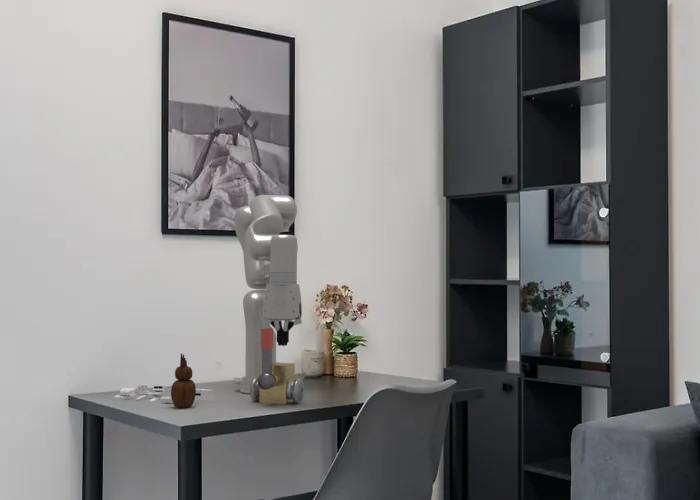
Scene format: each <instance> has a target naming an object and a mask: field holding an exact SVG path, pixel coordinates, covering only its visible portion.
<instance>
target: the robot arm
mask: <svg viewBox="0 0 700 500" xmlns="http://www.w3.org/2000/svg"><path fill="white" fill-rule="evenodd" d="M297 213H298V208H297V203H296V201H295V199H294V198H293V197H292V196H290V195H284V194H260V195H257V196H255V197H253V198H252V199H251V201H250V203H249V205H243V206H241V207H239V208H238V209H237V210H235V213H234V220H233V221H234V228H235V234H236V237H237V238H238V239H237V240H238V241H239V245H240V246H241V249H242V254H243V266H244V276H245V282H246V285H247V286H248V288H250V289H252V290H250V291H248V292H247V293H245V295H244V296H243V300H242V308H243V309H242V310H243V313H244V325H245V326H244V327H245V367H244V371H245V375H244V376H242V377H234V378H233V384H234V385H241V387H239V388H240V389H239V391H240V392H241V393H243V394H249V395H250V385H251V381H252V379H253V378H254V377H259V376H260V364H262V349H261V329H263V328H273V349H272V362H277V346H282V347H283V346H284V347H285V346H287V345H288V343H289V339H290V337H289V336H290V331H291V329H292V328H293V327H294V326H297V325H301V324H302V323H303V321H302V314H303V306H302V305H303V304H302V303H303V302H302V294H301V289H300V284H298V281H297V280H298V252H299V251H298V250H299V247H298V238H297V237H296V236H295V235H293V234H281V233H284V232H286V231H287V230H289V229H290V227H291V226H292V225H293V223H294V222H295V220H296V219H297ZM253 289H254V290H253ZM283 321H284V322H283ZM282 322H283V323H282Z"/></svg>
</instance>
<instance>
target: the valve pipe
mask: <svg viewBox="0 0 700 500" xmlns="http://www.w3.org/2000/svg"><path fill="white" fill-rule="evenodd" d="M295 366H296V363H295V362H277V361H276V362H272V374H273V375H274V376H275V377H276V384H275V386H274V387H272V388H270V389H267V390H263V389H261V388H260V387H259V386H258V382H257V381H258V377H254V378H253V379H252V381H251V385H250V394H249V395H250V399H251V401H252V402H259V404H263V405H264V404H266V405H268V404H269V405H285V406H286V405H289V404H291V403H293V404H299V405H300V404H301V403H302V402H303V399H304V398H305V383H304V380H303V379H302V378H295V377H296V375H295V373H296V372H295V371H296V367H295ZM260 375H262V364H260Z"/></svg>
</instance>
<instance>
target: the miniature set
mask: <svg viewBox="0 0 700 500" xmlns="http://www.w3.org/2000/svg"><path fill="white" fill-rule="evenodd" d="M148 386H149V385H148V384H147V383H140V384H138V385H137V387H136V389H137V391H138V393H137V394H139V395H140V394H143V395H141V396H138V397H136V399H135V400H137V401H139V400H141V399H144V398H146V397H147V395H161V394H162V392H164V391H166V390H165V388H163V385H160V386H159V385H154V386H153V388H152V391H154V392H150V391H149V390H148ZM136 389H135V387H134V386H128V387H123V388H121V389H120V390H119V394H116V395H115V396H113V397H112V398H113V399H124V397H135V396H136ZM204 391H207V392H211V391H212V389H205V388H196V395H195V397H197V396H202V392H204ZM197 392H198V393H197ZM169 395H170V396H169ZM158 401H159V403H161V404H168V403H170V404H173V401H172V398H171V393H167V396H161V397H159V398H158V397H156V398H155V397H153V398H151V399H149V403H155V402H158Z"/></svg>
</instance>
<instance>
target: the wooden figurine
mask: <svg viewBox="0 0 700 500" xmlns="http://www.w3.org/2000/svg"><path fill="white" fill-rule="evenodd" d="M174 376H175V379H176V380H175V381H174V382H173V383H172V384H171V390H170V394H171V395H170V397H171V398H172V401H173V403H172V404H173V405H174V407H175V408H178V409H187V408H191V407H192V406H193V404H194V403H195V401H196V396H195V395H196V393H197V391H196V389H197V388H196V383H195V382H194V380H192V378H193V368H192V367H191V366H188V361H187V359H186V358H185V354H184V353H180V361H179V366H178V367H176V368H175V371H174Z"/></svg>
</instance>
